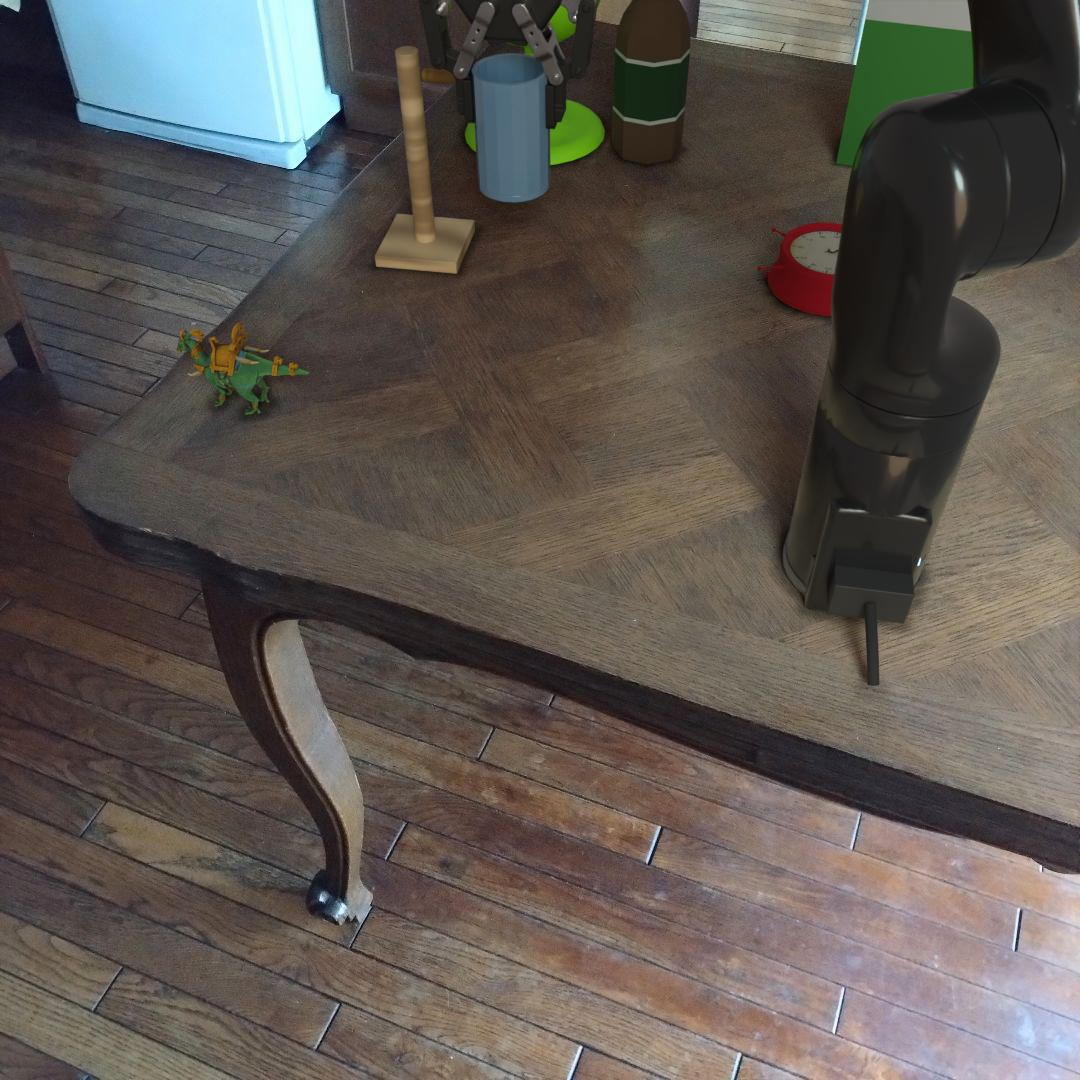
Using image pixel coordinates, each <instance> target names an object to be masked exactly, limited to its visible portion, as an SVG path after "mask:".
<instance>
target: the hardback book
mask: <svg viewBox="0 0 1080 1080" xmlns="http://www.w3.org/2000/svg"><path fill="white" fill-rule="evenodd" d="M971 87H973V51H972V36H971V25H970V16H969V8H968V3H967V0H868V3H867V8H866V14H865V17H864V23H863V28H862V34H861V37H860V43H859V47H858V53H857V57H856V63H855V68H854V73H853V78H852V83H851V88H850V93H849V98H848V101H847V102H848V103H847V108H846V113H845V118H844V122H843V127H842V133H841V137H840V142H839V147H838V153H837V156H836V157H837V158H836V163H835V164H837V165H844V166H849V167H852V166H853V162H854V158H855V156H856V153H857V150H858V147H859V145H860V142H861V140H862V138H863V136H864V134H865V132H866V130H867V129H868V127H869V126H870V124H871V123H872V121H873V120H874V119H875V118H876V117H877V116H878V114H879V113H880V112H882V111H883V110H884V109H886V108H887V107H889V106H890V105H892V104H895V103H898V102H900V101H904V100H908V99H912V98H917V97H922V96H927V95H932V94H938V93H943V92H949V91H955V90H960V89H966V88H971Z"/></svg>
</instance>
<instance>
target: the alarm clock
mask: <svg viewBox="0 0 1080 1080" xmlns="http://www.w3.org/2000/svg"><path fill="white" fill-rule="evenodd" d="M841 229H842V223H836V222H822V221H821V222H811V223H805V224H801V225H798V226H796V227H795V228H792V229H790V230H789V231H788V232H787V233H784V232H782V231H780V230H778V229H777V228H776V227H775V226H774V227H771V230H770V231H771V233H776V234H779V235H780V236H782V237H783V238H782V240H781V242H780V245H779V249H778V250H779V251H778V257H777V258H776V260H775V261H774V263H772V265H771V266H761V265H758V267H757V271H758V272H762V271H764V270H765V271H766V270H769V271H766V272H765V274H764V278H763V280H765V278H767V284H768V287H769V289H770V291H771V292H772V294H773V295H774V296H775V297H776V298H777V299H779V301H781V302H782V303H784V304H786V305H787V306H789V307H791V308H793V309H795V310H799V311H801V312H803V313H807V314H811V315H816V316H821V317H831V293H832V285H833V279H834V273H835V267H836V261H837V255H838V248H839V242H840V236H841Z"/></svg>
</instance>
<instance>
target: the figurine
mask: <svg viewBox="0 0 1080 1080" xmlns="http://www.w3.org/2000/svg"><path fill="white" fill-rule="evenodd" d="M238 331H239V333H238ZM244 331H245V327H244V324H243V322H237V323H236V324H234V326H233V328H232V331H231V335H230V337H231V342H230V344H227V343H219V339H218V337H217V336H212V337H211V336H210V337H209V338H208V341H209V343H210V345H211V348H212V351H211V352H210V353H208V352H207V351H206V349H205V347H204V346H203V344H202V343H201V342H203V338H204V336H205V333H204V332H203V331H202V330H200V329H199V328H193V329H192V330H190V332H188V330H187V329H185V328H184V329H181V330H180V332H179V337H180V338H179V340H178V342H177V346H176V353H177V354H179V355H180V354H182V352H188V351H190V356H191V358H192V360H193V363H192V365H193V367H194V368H195V370H196V371H195V372H193V373H188V372H187V373H186V374H187V375H188V376H190V377H193V378H194V377H196V378H197V377H200V376H202V375H204V376H205V379H206V380H207V382H208V383H209V384H210V385H211V386H212V387H213V388H214V389H216V390H217V391H218V392H219V393H220V394H219V396H218V400H215V404H214V407H219V406H222V405H223V404H224V403H225V402H226V400H227V399H226V398H227V396H231V395H232V394H233V392H234V390H235V391H236V392H237V393H238V396H240V397H241V398H243V399H244V400H246V401H249V402H251V406H248V407H247V408H246V409H245V411H244V415H246V416H247V415H253V414H254V413H256V412H257V414H261V413H262V411H261V409H259V402H265V401H266V403H267V404H268V403H270V400H269V398H268V392H269V389H270V387H269V386H268V385H267V384H266V383H265V381H264V377H265V376H271V377H279V376H285V375H286V376H291V377H294V376H295V377H296V376H307V375H309V374H310V371H308V370H306V369H303V368H299V364H298V363H295V362H289V364H288V365H284V364H283V363H284V358H281V357H279V356H278V355H276V356H274V357H273V360H268V359H266V358H264V357H260V356H258V355H256V354H266V353H268V352H269V351H270V349H261V348H257V347H254V346H253V347H252V346H248V345H246V344H244V341H247V340H248V336H249V333H247V332H244ZM184 333H185V334H184ZM192 337H196V339H193V338H192ZM253 353H256V354H253ZM255 386H257V387H259V388H260V389H261V394H258V396H256V395H255V394H254V393H253V389H254V387H255ZM224 389H227V390H226V391H225V390H224Z"/></svg>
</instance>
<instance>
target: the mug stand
mask: <svg viewBox="0 0 1080 1080" xmlns="http://www.w3.org/2000/svg"><path fill="white" fill-rule="evenodd" d="M394 55H395V64H396V65H395V66H396V74H397V84H398V92H399V101H400V111H401V119H402V129H403V138H404V147H405V156H406V164H407V165H406V166H407V173H408V174H407V175H408V185H409V193H410V202H411V213H412V214H407V213H406V214H405V213H396V215H395V216H394V218H393V221H392V222H391V224H390V226H389V228H388V230H387V232H386V234H385V236H384V237H383V239H382V241H381V243H380V245H379V247H378V249H377V250H376V252H375V253H374V254H375V255H374V261H375V266H376V267H377V268H387V269H388V268H389V269H398V270H399V269H400V270H411V271H421V272H432V273H433V272H434V273H445V274H458V272H459V269H460V267H461V265H462V262H463V260H464V258H465V256H466V253H467V251H468V248H469V246H470V244H471V242H472V239H473V237H474V234H475V232H476V224H475V223H476V221H475V219H466V218H455V217H443V216H435V212H434V203H433V202H434V201H433V192H432V181H431V169H430V159H429V158H430V157H429V147H428V138H427V137H428V136H427V127H426V116H425V107H424V95H423V86H422V85H423V84H422V83H423V82H424V83H435V84H449V85H456V81H455V77H454V75H453V74H452V73H451V72H449V71H447V70H444V69H441V70H437V69H435V68H431V67H430V68H429V67H427V68H425V67H424V68H423V69H422V70H421V64H420V63H421V62H420V51H419V49H418V47H416V46H413V45H403V46H400V47H397V48H396V49H395V50H394ZM422 81H423V82H422Z"/></svg>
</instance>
